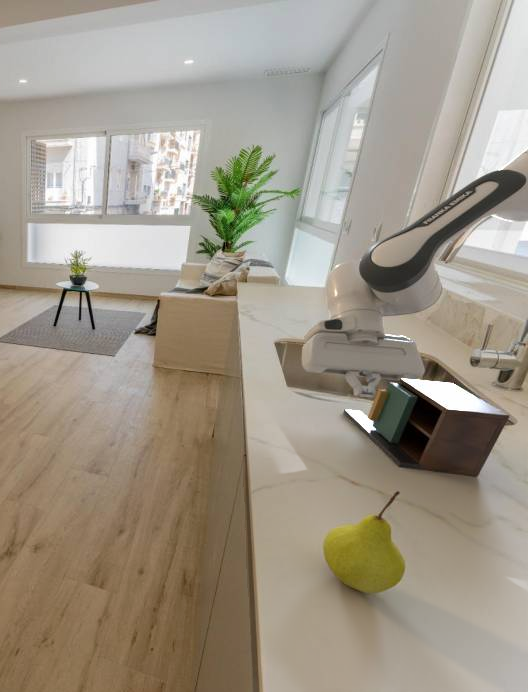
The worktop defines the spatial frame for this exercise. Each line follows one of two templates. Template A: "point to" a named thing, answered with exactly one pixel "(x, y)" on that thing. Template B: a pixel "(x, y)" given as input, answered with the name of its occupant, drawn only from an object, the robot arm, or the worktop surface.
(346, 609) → the worktop surface
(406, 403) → the sliding door
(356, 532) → the fruit
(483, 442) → the cabinet
